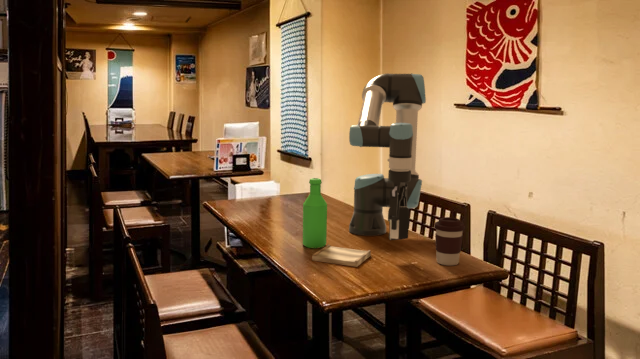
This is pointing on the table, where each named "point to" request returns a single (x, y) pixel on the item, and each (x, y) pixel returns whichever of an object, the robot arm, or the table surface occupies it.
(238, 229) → the table surface
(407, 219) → the battery charger
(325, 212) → the bottle
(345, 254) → the board
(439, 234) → the coffee cup
